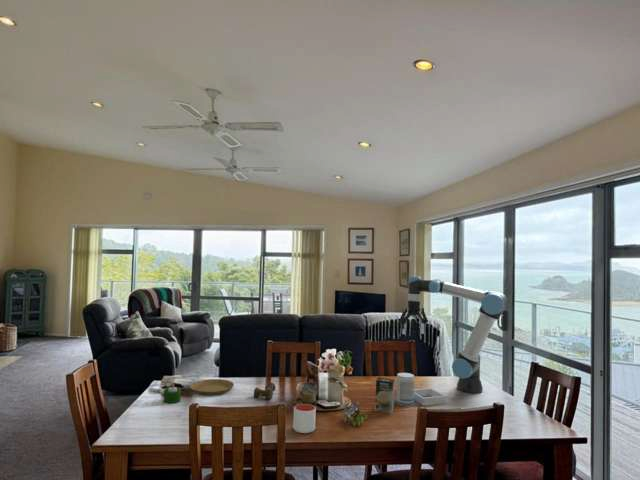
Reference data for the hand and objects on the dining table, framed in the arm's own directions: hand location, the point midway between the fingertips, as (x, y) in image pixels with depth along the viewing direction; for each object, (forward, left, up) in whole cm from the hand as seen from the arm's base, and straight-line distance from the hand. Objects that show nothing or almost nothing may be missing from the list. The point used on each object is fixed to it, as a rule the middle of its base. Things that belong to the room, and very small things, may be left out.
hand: (413, 333), depth 275 cm
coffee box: (+40, +38, -32) cm, 64 cm away
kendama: (+95, +1, -32) cm, 100 cm away
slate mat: (+22, +29, -32) cm, 48 cm away
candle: (+144, -2, -32) cm, 148 cm away
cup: (+88, +51, -32) cm, 107 cm away
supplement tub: (+22, +29, -32) cm, 48 cm away
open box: (+8, +29, -32) cm, 44 cm away
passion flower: (+62, +49, -32) cm, 85 cm away
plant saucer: (+122, -16, -32) cm, 127 cm away
